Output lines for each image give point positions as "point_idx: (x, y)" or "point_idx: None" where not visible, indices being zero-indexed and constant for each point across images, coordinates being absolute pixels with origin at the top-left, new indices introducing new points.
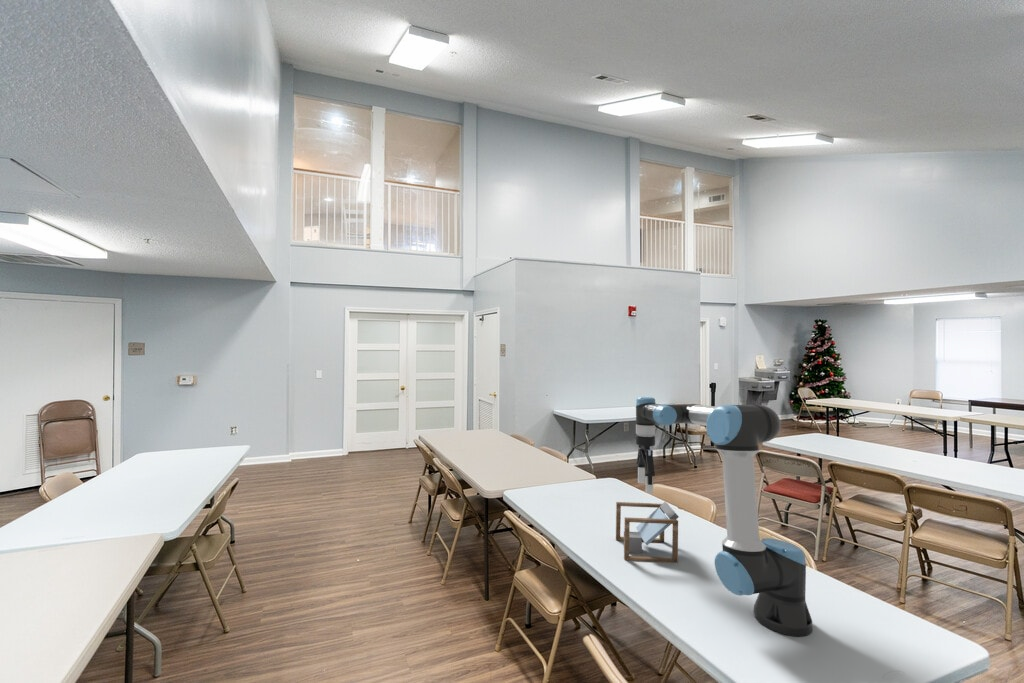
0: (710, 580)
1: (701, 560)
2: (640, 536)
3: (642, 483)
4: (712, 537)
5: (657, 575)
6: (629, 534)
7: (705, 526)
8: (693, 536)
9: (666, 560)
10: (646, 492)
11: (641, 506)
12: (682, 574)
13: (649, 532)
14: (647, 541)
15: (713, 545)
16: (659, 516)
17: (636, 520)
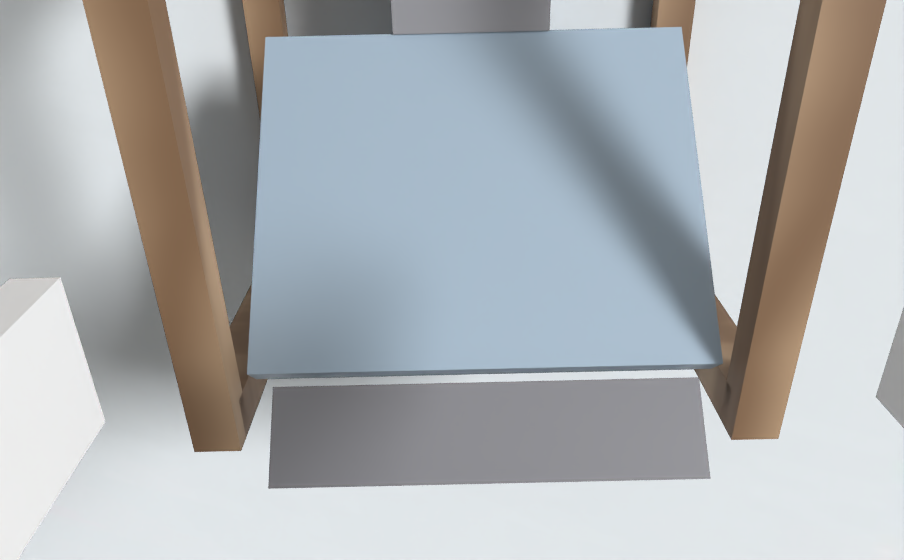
0: (91, 371)
1: None
2: (426, 26)
3: (892, 349)
4: (717, 543)
5: (30, 57)
6: None
7: (897, 556)
8: (740, 453)
9: None
10: (10, 293)
11: (772, 157)
12: (114, 237)
13: (374, 124)
14: (264, 67)
15: (595, 516)
16: (508, 306)
17: None
